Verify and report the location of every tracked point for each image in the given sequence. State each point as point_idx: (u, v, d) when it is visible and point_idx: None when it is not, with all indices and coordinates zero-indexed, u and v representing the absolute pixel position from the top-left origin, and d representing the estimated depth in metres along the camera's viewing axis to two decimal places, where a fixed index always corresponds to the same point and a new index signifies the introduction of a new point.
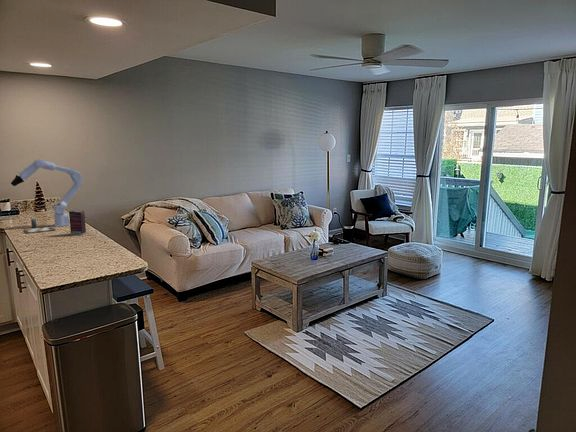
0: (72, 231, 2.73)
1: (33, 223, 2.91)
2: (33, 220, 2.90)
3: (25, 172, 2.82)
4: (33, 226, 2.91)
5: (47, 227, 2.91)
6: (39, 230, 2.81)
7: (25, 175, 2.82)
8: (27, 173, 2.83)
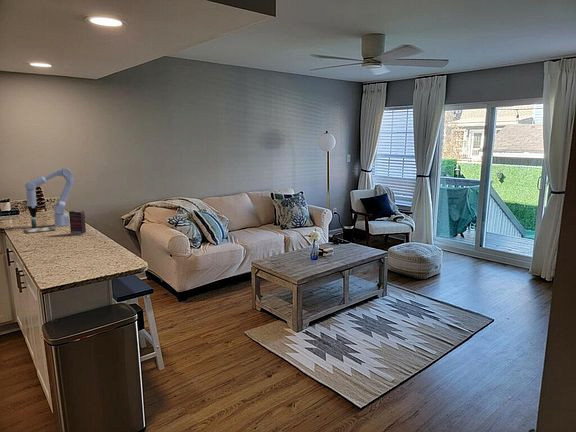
0: (72, 231, 2.73)
1: (33, 223, 2.91)
2: (33, 220, 2.90)
3: (30, 200, 2.86)
4: (33, 226, 2.91)
5: (47, 227, 2.91)
6: (39, 230, 2.81)
7: (32, 202, 2.87)
8: (32, 200, 2.87)
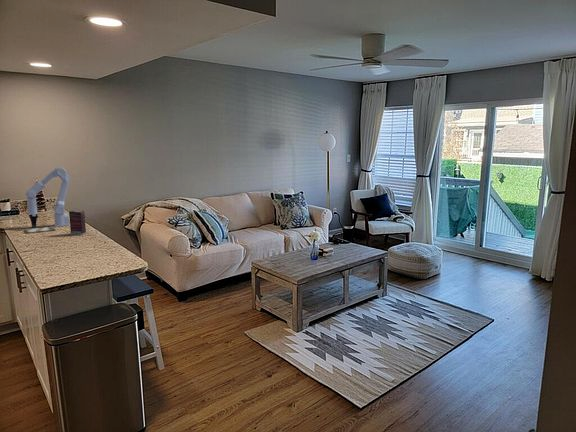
0: (72, 231, 2.73)
1: None
2: None
3: (31, 209, 2.88)
4: (33, 226, 2.91)
5: (47, 227, 2.91)
6: (39, 230, 2.81)
7: (33, 211, 2.89)
8: (33, 208, 2.88)
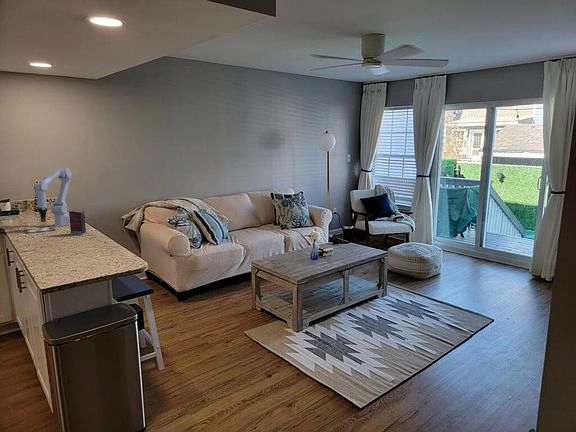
0: (72, 231, 2.73)
1: None
2: None
3: (40, 202, 2.81)
4: (42, 220, 2.85)
5: (47, 227, 2.91)
6: (39, 230, 2.81)
7: (43, 204, 2.82)
8: (42, 201, 2.82)
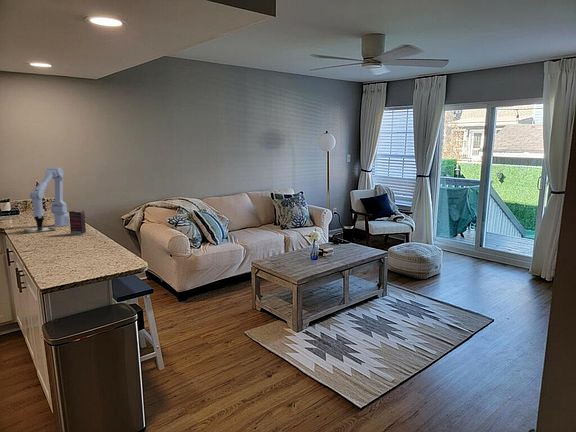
0: (72, 231, 2.73)
1: None
2: None
3: (36, 210, 2.76)
4: (39, 228, 2.80)
5: (47, 227, 2.91)
6: None
7: (39, 212, 2.77)
8: (39, 210, 2.77)
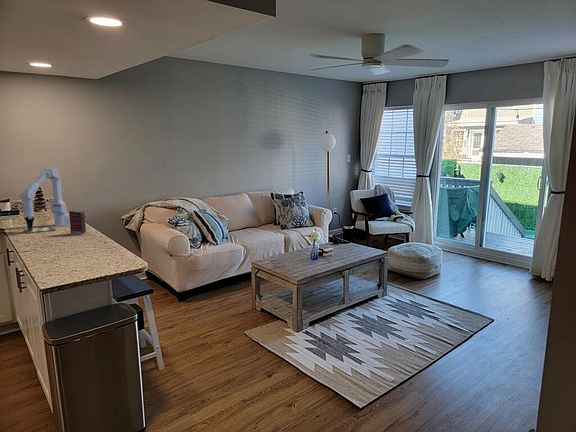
0: (72, 231, 2.73)
1: None
2: None
3: (26, 211, 2.73)
4: (29, 229, 2.76)
5: (47, 227, 2.91)
6: (39, 230, 2.81)
7: (29, 213, 2.74)
8: (29, 210, 2.73)
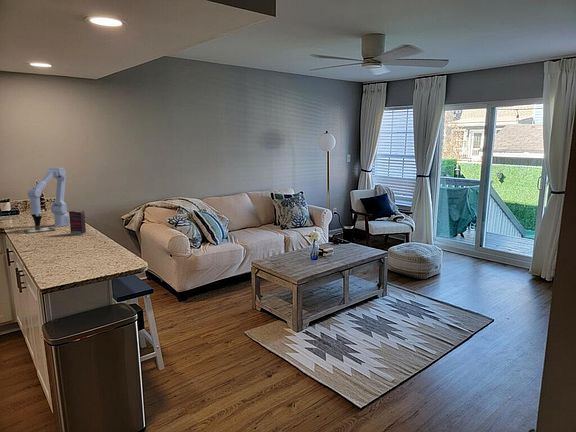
0: (72, 231, 2.73)
1: None
2: None
3: (34, 208, 2.79)
4: (36, 228, 2.82)
5: (47, 227, 2.91)
6: (39, 230, 2.81)
7: (37, 210, 2.80)
8: (36, 208, 2.79)
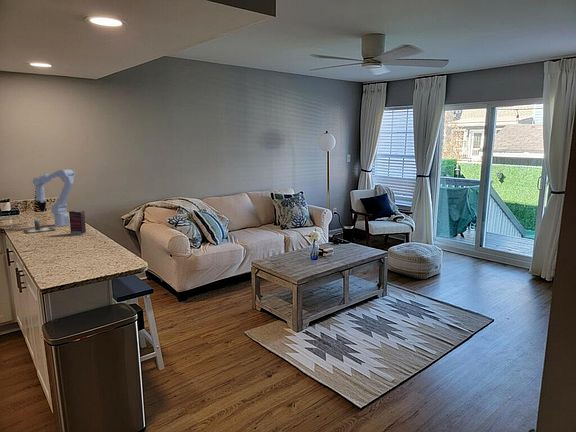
0: (72, 231, 2.73)
1: (36, 225, 2.82)
2: (36, 221, 2.82)
3: (39, 195, 3.00)
4: (36, 228, 2.82)
5: (47, 227, 2.91)
6: (39, 230, 2.81)
7: (41, 197, 3.01)
8: (41, 195, 3.00)
